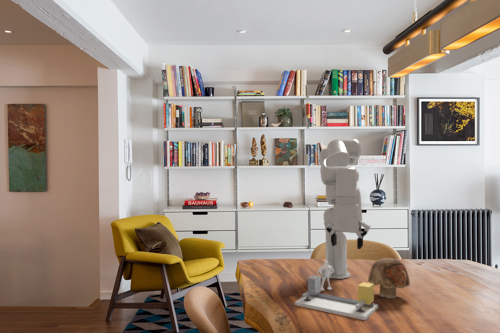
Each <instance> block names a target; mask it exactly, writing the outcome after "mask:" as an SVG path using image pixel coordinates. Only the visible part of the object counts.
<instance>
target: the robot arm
mask: <svg viewBox="0 0 500 333" xmlns="http://www.w3.org/2000/svg"><path fill="white" fill-rule="evenodd" d="M361 146H362V145H361V143H360V142H359V140H358V139H355V138H352V139H351V138H349V139H348V138H346V139H345V138H342V139H341V138H340V139H338V138H337V139H333V140H331V141H330V142H329V143H328V144H327V146H326V148H323V149H321V151H320V152H319V163H320V169H319V170H320V178H321V182H322V184H323V185H324V186H325V198H326V203H327V204H329V205H330V206H332V207H329V208H327V209H325V210H324V212H323V226H324V230H325V261H327V262H328V265H330V266H332V267H333V269H334V272H333V273H332V274H330V276H331V277H330V276H329V279H336V280H341V279H348V278H350V277H351V273H350V272H349V271H348V268H349V264H348V258H347V256H348V255H347V248H348V247H347V245H348V244H347V243H348V242H347V236H346V235H345V233H348V234H349V233H350V234H353V233H355V235H357V238H356V243H357V245H356V247H357V248H356V249H357V250H360V249H362V248H363V246H364V237H365V236H366V235H367V234H368V233H369V231H370V229H371V225H369V224H367V223H366V222H365V221H363V212H362V211H363V210H362V196H361V194H362V193H361V191H360V188H359V187H358V184H357V183H358V181H359V179H360V177H359V176H360V175H359V171H358V169H357V168H356V167H354V166H355V165H356V164H357V163H358V161H359V159H360V157H361V155H362V147H361ZM362 227H363V229H364V230H363V231H362ZM330 271H331V270H330Z"/></svg>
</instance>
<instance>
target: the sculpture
mask: <svg viewBox="0 0 500 333" xmlns="http://www.w3.org/2000/svg"><path fill="white" fill-rule="evenodd" d="M367 279H368V280H367V281H368V283H371V284H374V286H378V285H379V297H381V298H385V299H388V298H393V299H395V298H396V297H397V289H404V288H407V287H410V282H411V281H410V277H409V273H408V271H407V268H406V266H405V264H404V263H403V262H402V261H401V260H399V259H397V258H396V259H395V258H392V257H384V258H380V259H377V260H376V261H375V262H373V264H372V265H371V267H370V270H369V276H368V278H367Z"/></svg>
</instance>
